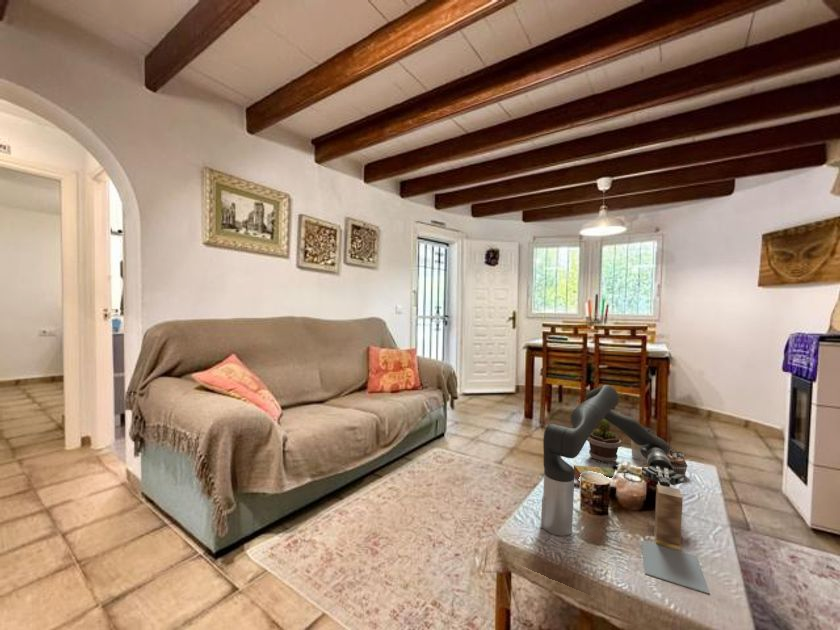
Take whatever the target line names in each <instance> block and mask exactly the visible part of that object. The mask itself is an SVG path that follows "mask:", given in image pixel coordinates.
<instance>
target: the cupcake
mask: <svg viewBox="0 0 840 630" xmlns="http://www.w3.org/2000/svg"><path fill="white" fill-rule="evenodd" d="M667 457H668V459H669V460H670V463H671V466H672V468H673V471H674V472H675V473H676V474H678V475H679V474H682V475H684V477H685V476H686V473H687V469H688V464H687V462H686V459H685V454H683V452H682V451H676V450H675V449H674V448H673V449H670V452H669V453H668V454H667Z"/></svg>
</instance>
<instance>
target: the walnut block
mask: <svg viewBox="0 0 840 630" xmlns="http://www.w3.org/2000/svg"><path fill="white" fill-rule="evenodd" d="M655 489H656V491H655V509H654V511H655V512H654V513H655V514H654V530H653V531H654V532H653V534H654V539H655V544H656V545H660V546H663V547H667V548H671V549H674V550H678V551H680V550H681V537H682V536H681V533H682V517H683V516H682V514H683V496H682V493H681V490H680V489H679V488H676V487H675V488H674V487H671V486H670V487H667V486H662V485H660V484H656V487H655Z"/></svg>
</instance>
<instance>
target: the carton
mask: <svg viewBox="0 0 840 630" xmlns="http://www.w3.org/2000/svg"><path fill="white" fill-rule="evenodd" d="M573 469H574V471H575V478H576V477H577V478H578V479H579V477H580V474H581V473H582V472H584V471H593V472H597V473H601V474H603V475H604V476H606V477H609V478H612V477H613V475H614V471H615V470H614V469H613V468H612V467H601V466H600V467H599V466H588V465H575V464H574V465H573ZM577 478H576V479H577ZM578 479H577V480H578Z"/></svg>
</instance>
